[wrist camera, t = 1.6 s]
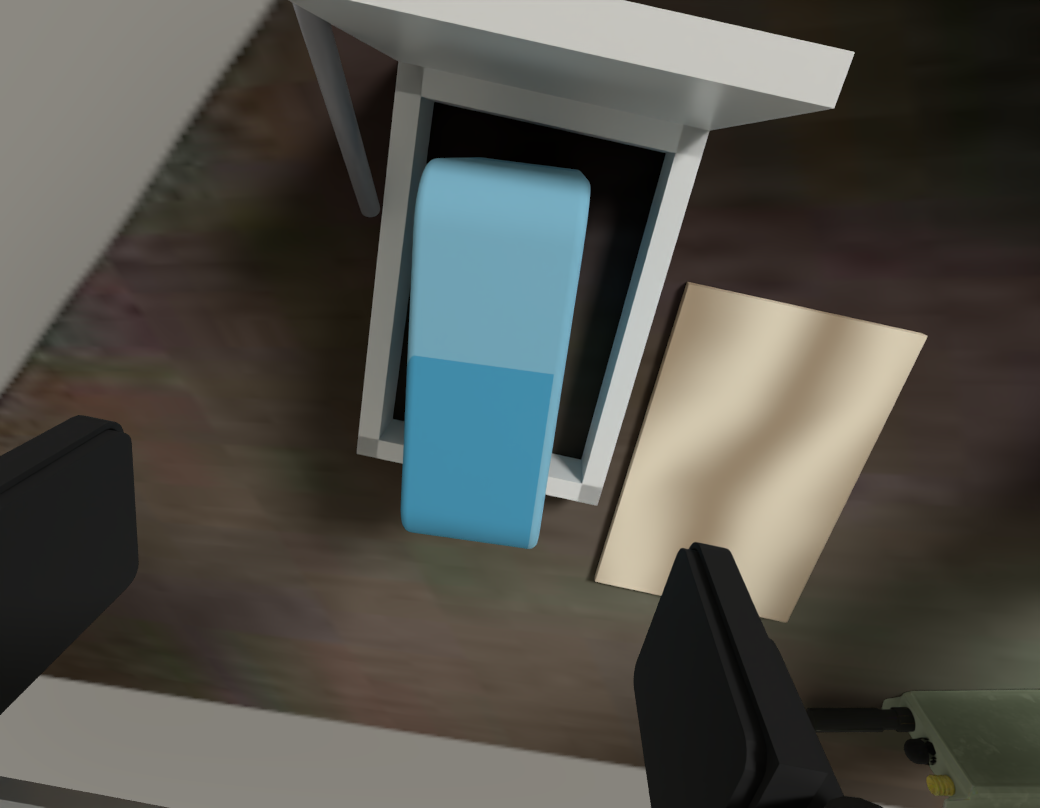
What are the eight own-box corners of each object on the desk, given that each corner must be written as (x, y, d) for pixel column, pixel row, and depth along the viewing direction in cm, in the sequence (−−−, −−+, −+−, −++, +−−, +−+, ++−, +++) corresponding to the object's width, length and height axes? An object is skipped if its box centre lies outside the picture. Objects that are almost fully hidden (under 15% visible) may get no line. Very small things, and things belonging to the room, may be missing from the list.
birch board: (921, 333, 27) (927, 336, 27) (783, 616, 34) (786, 622, 34) (687, 281, 27) (689, 283, 27) (594, 575, 34) (594, 581, 33)
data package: (479, 156, 26) (414, 156, 15) (582, 169, 26) (594, 180, 15) (458, 408, 31) (396, 551, 20) (546, 420, 31) (533, 571, 19)
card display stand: (703, 106, 25) (854, 52, 12) (595, 479, 32) (614, 704, 19) (395, 37, 24) (203, -94, 12) (355, 428, 31) (207, 617, 19)
